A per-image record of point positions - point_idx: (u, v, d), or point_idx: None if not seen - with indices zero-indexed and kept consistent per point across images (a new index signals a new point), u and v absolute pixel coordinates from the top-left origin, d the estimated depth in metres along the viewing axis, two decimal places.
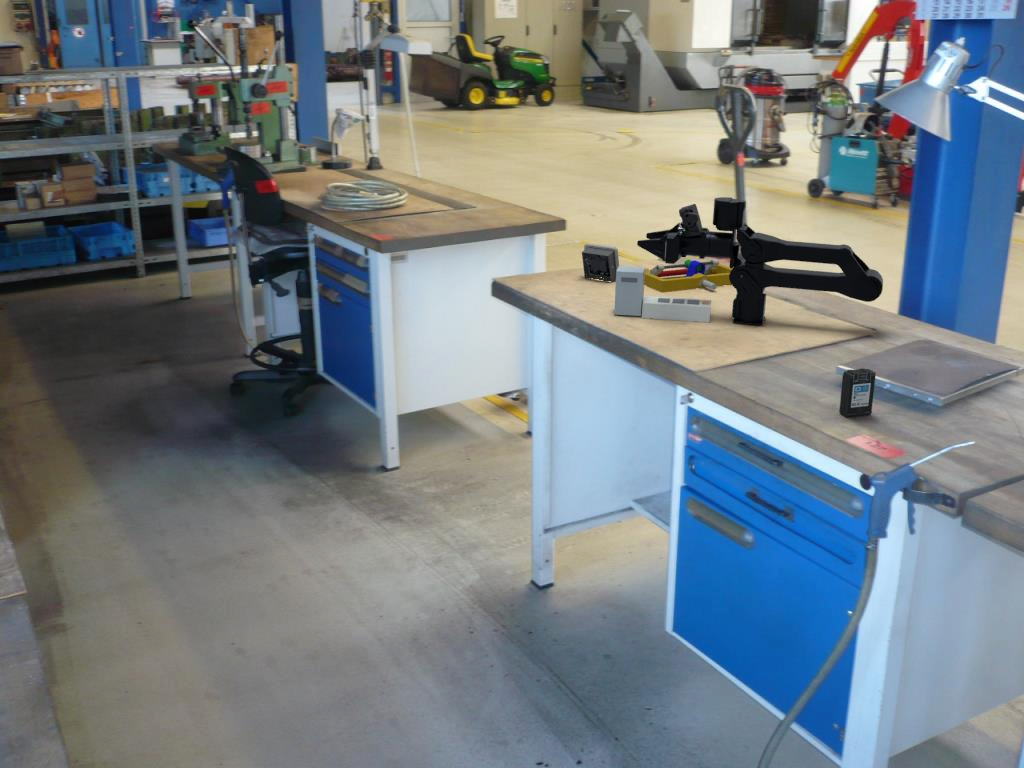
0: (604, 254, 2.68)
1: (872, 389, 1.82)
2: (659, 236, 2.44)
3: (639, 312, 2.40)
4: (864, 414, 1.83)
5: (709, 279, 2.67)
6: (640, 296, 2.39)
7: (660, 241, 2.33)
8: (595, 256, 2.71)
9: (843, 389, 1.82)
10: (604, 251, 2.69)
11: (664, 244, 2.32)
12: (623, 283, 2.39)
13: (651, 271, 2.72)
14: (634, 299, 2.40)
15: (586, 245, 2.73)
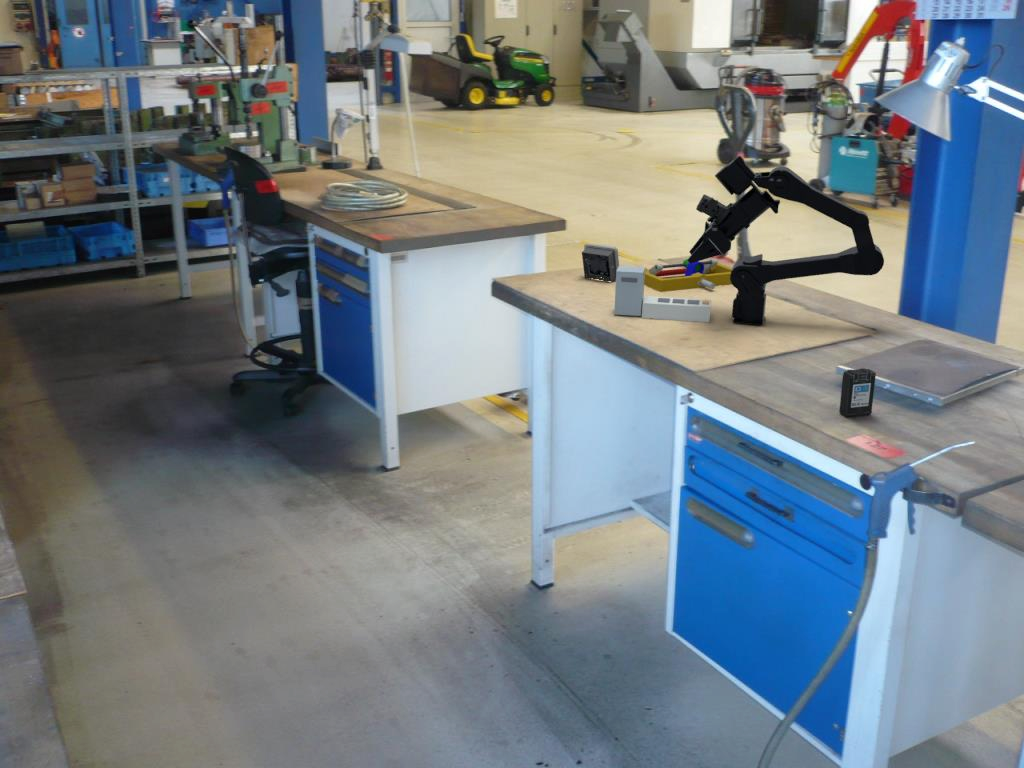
0: (604, 254, 2.68)
1: (872, 389, 1.82)
2: None
3: (639, 312, 2.40)
4: (864, 414, 1.83)
5: (708, 278, 2.68)
6: (640, 296, 2.39)
7: (704, 243, 2.29)
8: (595, 256, 2.71)
9: (843, 389, 1.82)
10: (604, 251, 2.69)
11: (709, 242, 2.27)
12: (623, 283, 2.39)
13: (650, 270, 2.72)
14: (634, 299, 2.40)
15: (586, 245, 2.73)
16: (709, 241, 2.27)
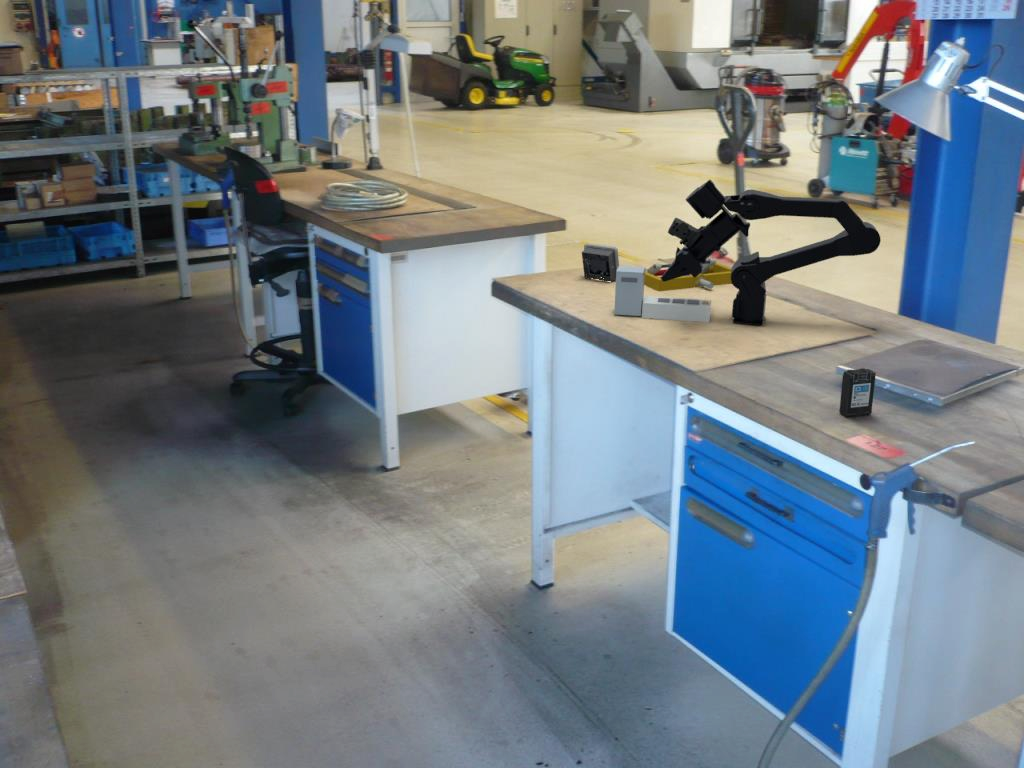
0: (604, 254, 2.68)
1: (872, 389, 1.82)
2: None
3: (639, 312, 2.40)
4: (864, 414, 1.83)
5: (706, 278, 2.68)
6: (640, 296, 2.39)
7: (677, 262, 2.36)
8: (595, 256, 2.71)
9: (843, 389, 1.82)
10: (604, 251, 2.69)
11: None
12: (623, 283, 2.39)
13: (648, 270, 2.73)
14: (634, 299, 2.40)
15: (586, 245, 2.73)
16: None
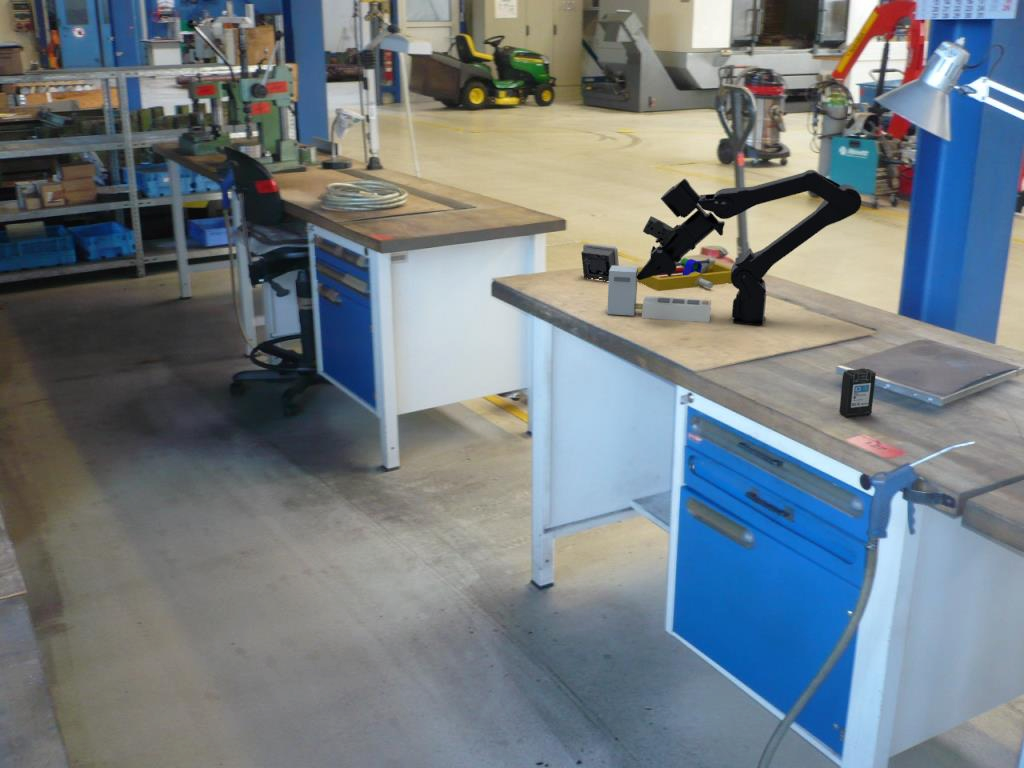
0: (604, 254, 2.68)
1: (872, 389, 1.82)
2: None
3: (632, 312, 2.41)
4: (864, 414, 1.83)
5: (705, 278, 2.69)
6: (633, 296, 2.39)
7: (652, 260, 2.37)
8: (594, 256, 2.71)
9: (843, 389, 1.82)
10: (604, 251, 2.70)
11: None
12: (616, 283, 2.39)
13: None
14: (627, 299, 2.40)
15: (585, 245, 2.73)
16: None
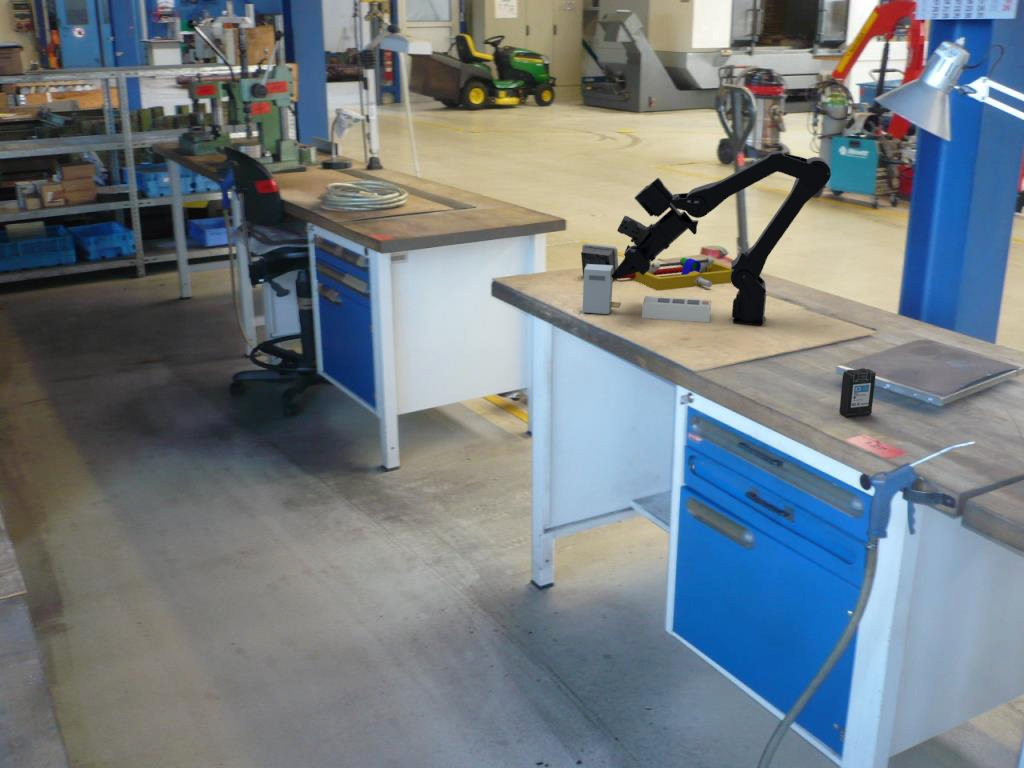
0: (604, 254, 2.68)
1: (872, 389, 1.82)
2: None
3: (607, 310, 2.42)
4: (864, 414, 1.83)
5: (705, 277, 2.69)
6: (608, 294, 2.40)
7: (626, 260, 2.38)
8: (594, 256, 2.72)
9: (843, 389, 1.82)
10: (604, 251, 2.70)
11: None
12: (591, 281, 2.40)
13: None
14: (602, 297, 2.41)
15: (584, 245, 2.73)
16: None
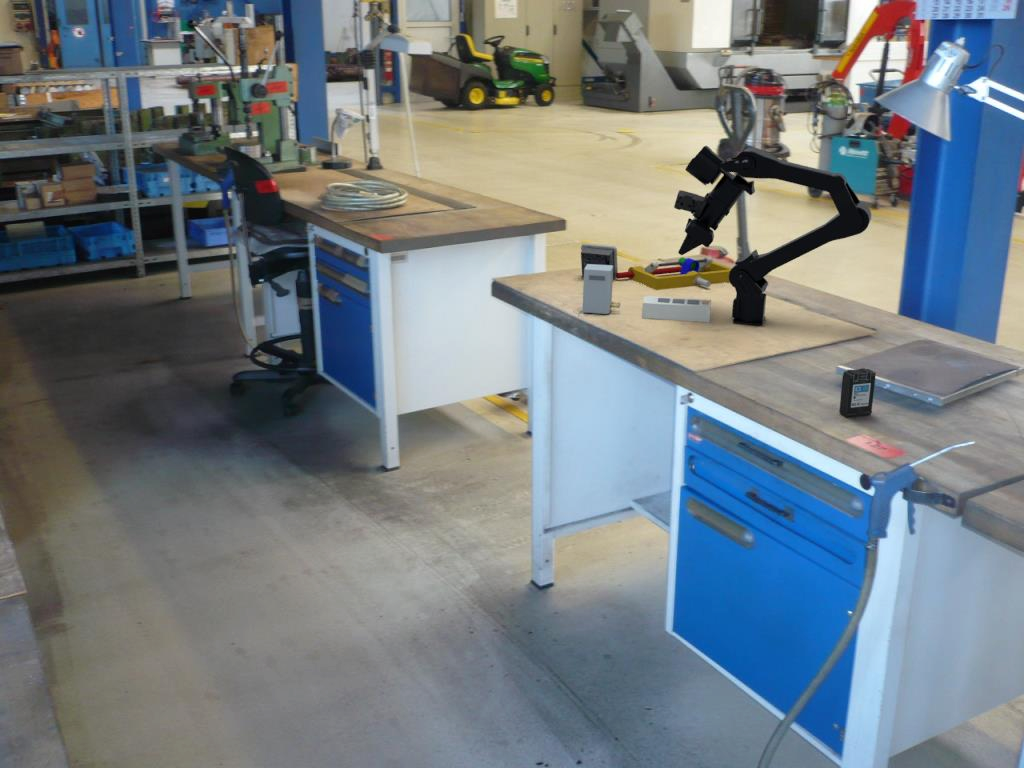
0: (604, 253, 2.69)
1: (872, 389, 1.82)
2: None
3: (607, 310, 2.42)
4: (864, 414, 1.83)
5: (703, 277, 2.70)
6: (608, 294, 2.40)
7: None
8: (594, 256, 2.72)
9: (843, 389, 1.82)
10: (603, 250, 2.70)
11: None
12: (591, 281, 2.40)
13: (645, 269, 2.74)
14: (602, 297, 2.41)
15: (583, 245, 2.72)
16: None
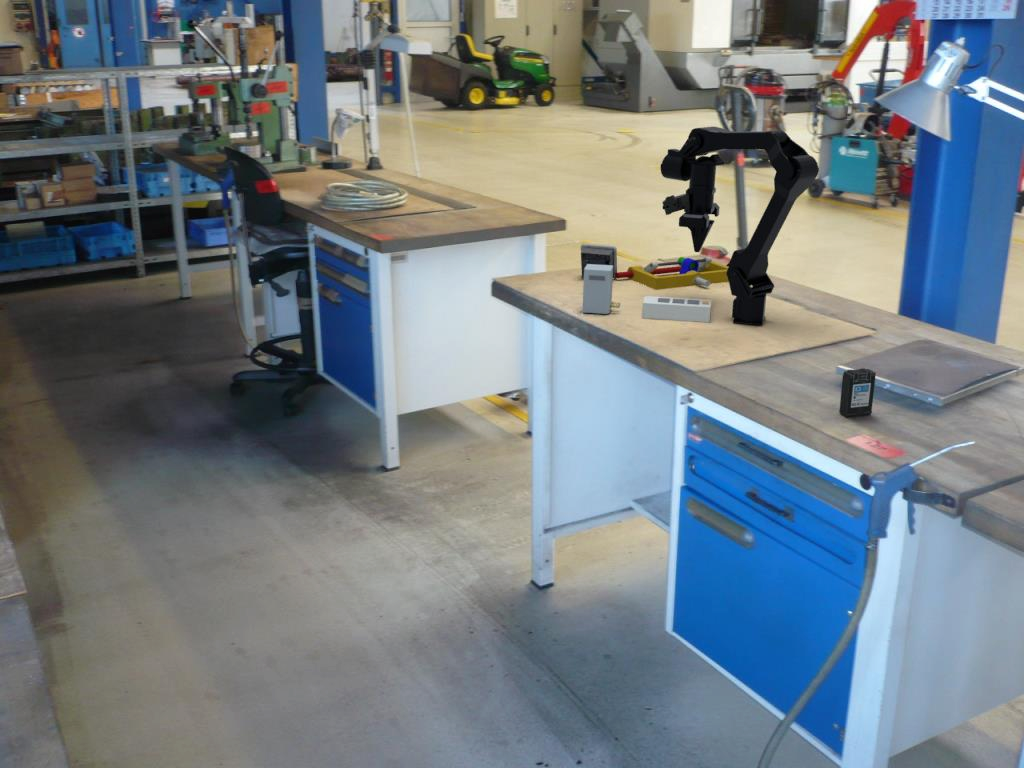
0: (604, 253, 2.69)
1: (872, 389, 1.82)
2: None
3: (607, 310, 2.42)
4: (864, 414, 1.83)
5: (703, 276, 2.70)
6: (608, 294, 2.40)
7: (692, 229, 2.43)
8: (593, 256, 2.72)
9: (843, 389, 1.82)
10: (603, 250, 2.70)
11: None
12: (591, 281, 2.40)
13: (645, 268, 2.74)
14: (602, 297, 2.41)
15: (583, 245, 2.72)
16: None
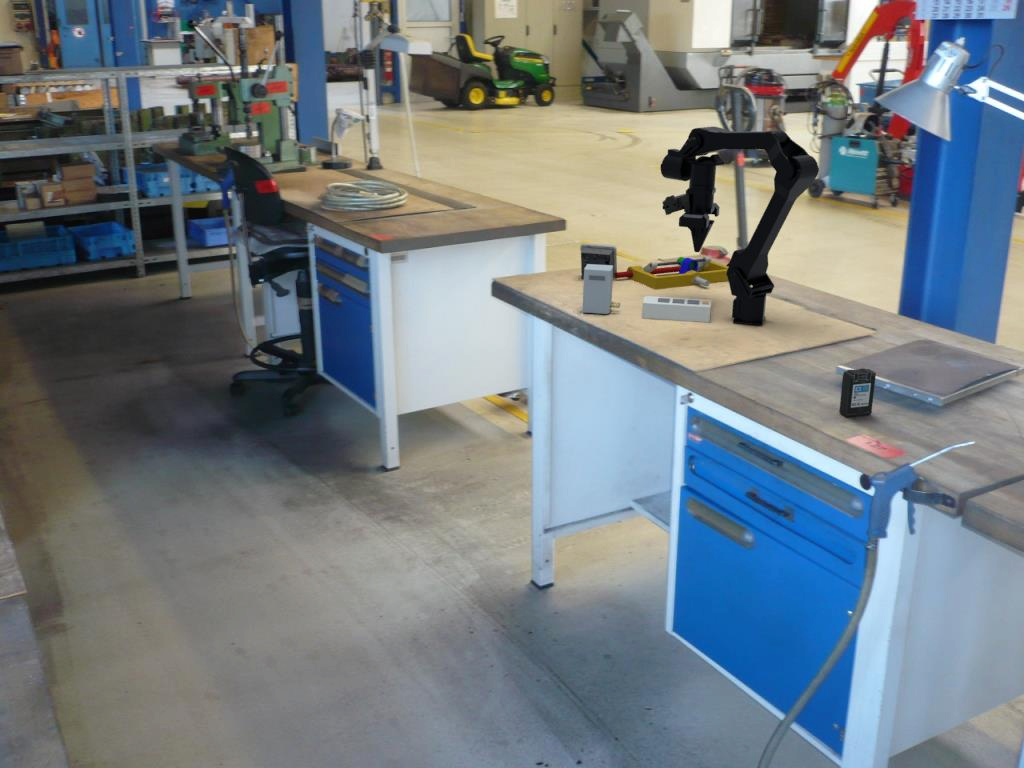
0: (605, 253, 2.69)
1: (872, 389, 1.82)
2: None
3: (607, 310, 2.42)
4: (864, 414, 1.83)
5: (702, 276, 2.70)
6: (608, 294, 2.40)
7: (692, 229, 2.43)
8: (593, 256, 2.72)
9: (843, 389, 1.82)
10: (603, 250, 2.70)
11: None
12: (591, 281, 2.40)
13: (644, 268, 2.74)
14: (602, 297, 2.41)
15: (583, 245, 2.72)
16: None
